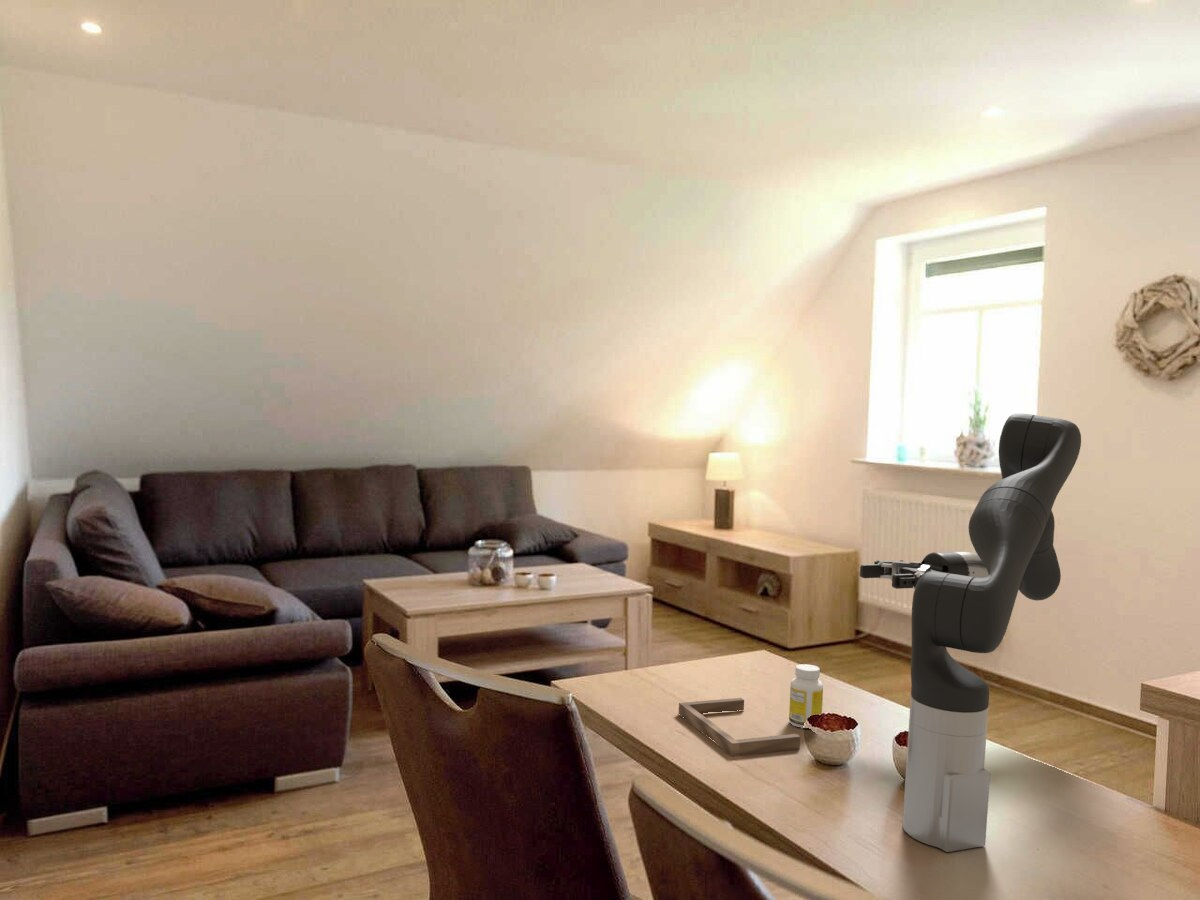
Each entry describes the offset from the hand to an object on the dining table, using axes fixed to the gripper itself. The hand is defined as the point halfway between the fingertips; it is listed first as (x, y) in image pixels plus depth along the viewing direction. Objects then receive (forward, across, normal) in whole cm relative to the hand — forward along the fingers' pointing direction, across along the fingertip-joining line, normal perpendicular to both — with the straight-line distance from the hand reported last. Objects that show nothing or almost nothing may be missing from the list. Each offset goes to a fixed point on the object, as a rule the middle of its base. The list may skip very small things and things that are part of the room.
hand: (876, 576), depth 153 cm
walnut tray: (+22, -5, +26) cm, 34 cm away
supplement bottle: (+9, -5, +26) cm, 28 cm away
